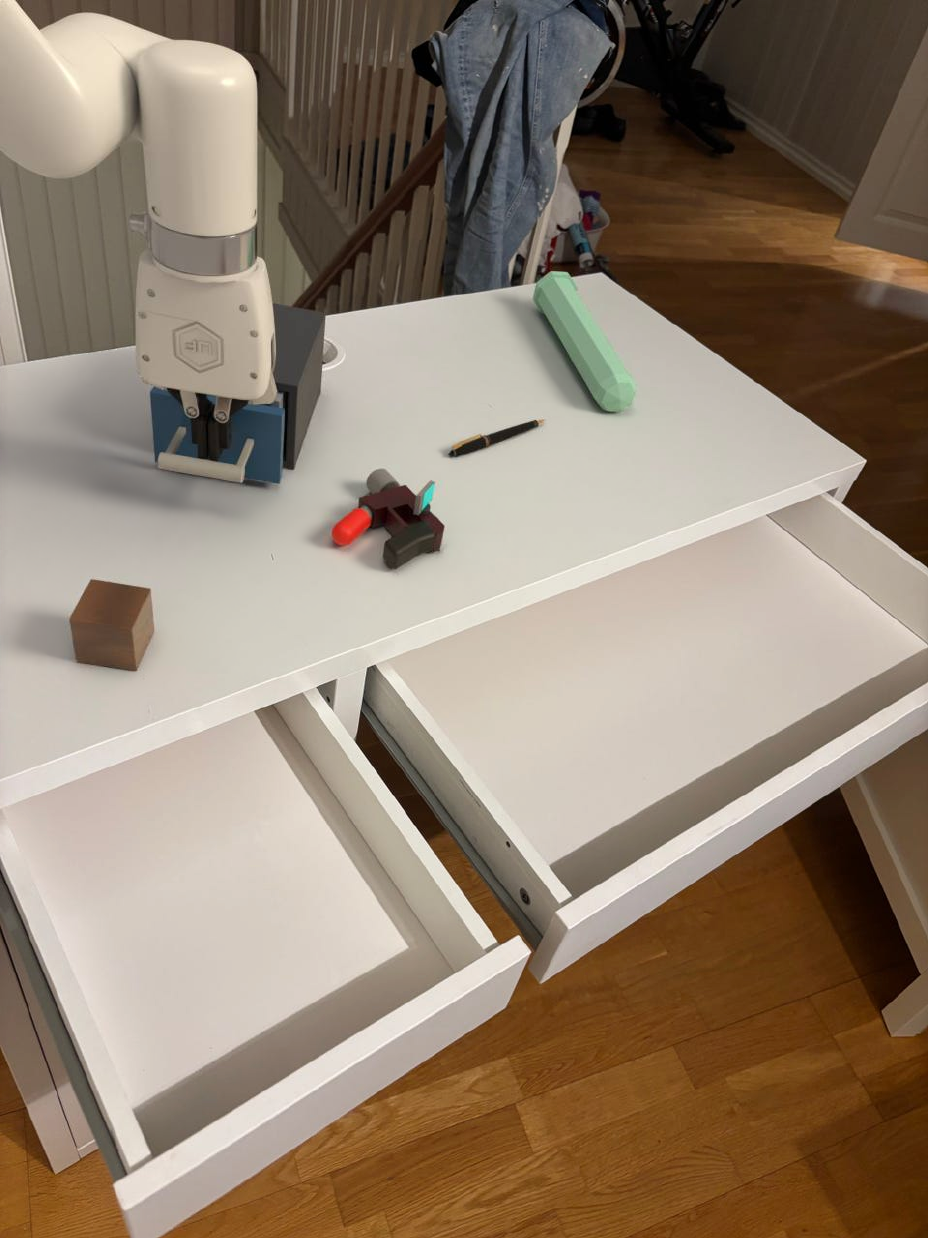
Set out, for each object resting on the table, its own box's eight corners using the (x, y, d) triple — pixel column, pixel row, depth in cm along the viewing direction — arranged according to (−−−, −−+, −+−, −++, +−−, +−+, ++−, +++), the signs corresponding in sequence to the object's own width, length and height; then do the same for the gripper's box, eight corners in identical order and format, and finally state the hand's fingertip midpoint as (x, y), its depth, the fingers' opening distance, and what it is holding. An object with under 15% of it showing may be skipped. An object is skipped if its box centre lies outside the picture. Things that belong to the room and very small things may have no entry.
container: (644, 369, 103) (573, 263, 119) (592, 386, 103) (528, 278, 119) (647, 412, 107) (578, 304, 124) (598, 428, 107) (536, 318, 124)
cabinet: (293, 470, 90) (297, 385, 84) (160, 446, 89) (155, 360, 83) (320, 392, 100) (325, 312, 94) (202, 371, 100) (199, 289, 93)
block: (75, 662, 69) (68, 619, 66) (96, 620, 72) (90, 578, 69) (136, 671, 69) (131, 629, 66) (154, 630, 72) (151, 588, 69)
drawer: (266, 521, 82) (267, 452, 77) (134, 499, 81) (128, 427, 77) (307, 407, 96) (310, 342, 91) (195, 387, 95) (192, 320, 90)
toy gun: (385, 479, 91) (390, 437, 88) (455, 553, 85) (464, 510, 81) (295, 503, 86) (297, 460, 83) (363, 584, 80) (368, 540, 77)
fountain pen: (541, 421, 104) (544, 409, 103) (548, 427, 103) (552, 415, 102) (443, 456, 96) (445, 444, 95) (450, 462, 95) (453, 450, 94)
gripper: (82, 243, 65) (110, 462, 78) (297, 280, 66) (290, 491, 79) (117, 203, 71) (138, 414, 83) (315, 238, 72) (307, 442, 84)
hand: (212, 451), depth 81 cm, fingers closed
